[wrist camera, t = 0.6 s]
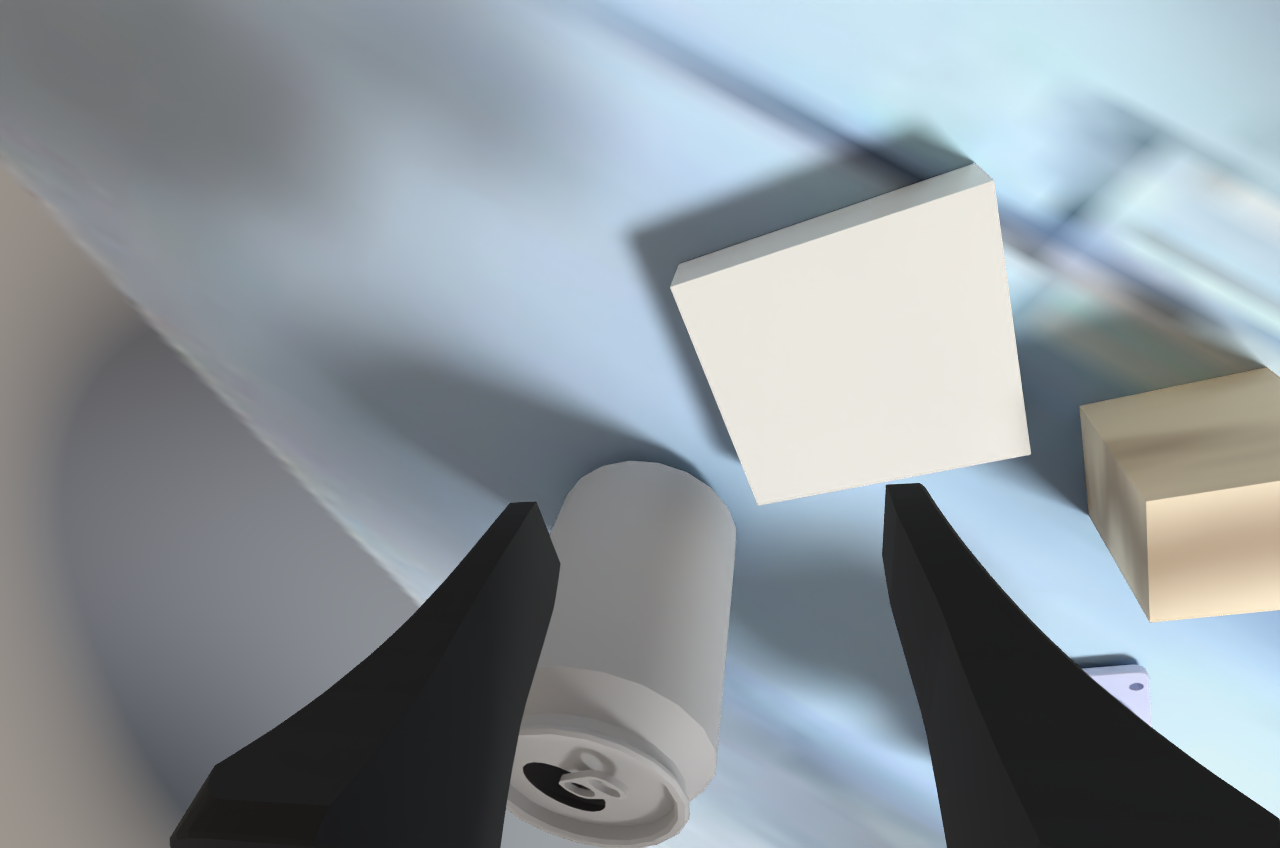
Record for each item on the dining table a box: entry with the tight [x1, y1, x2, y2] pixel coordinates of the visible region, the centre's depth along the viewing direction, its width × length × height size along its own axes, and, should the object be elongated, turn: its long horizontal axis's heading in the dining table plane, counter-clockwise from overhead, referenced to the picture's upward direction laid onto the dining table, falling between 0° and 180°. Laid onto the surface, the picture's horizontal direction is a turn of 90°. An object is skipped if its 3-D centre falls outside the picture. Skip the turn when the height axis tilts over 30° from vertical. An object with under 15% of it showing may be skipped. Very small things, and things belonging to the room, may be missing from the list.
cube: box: [1079, 367, 1280, 622], centre depth 20 cm, size 5×5×5 cm
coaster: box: [670, 163, 1031, 506], centre depth 21 cm, size 9×9×2 cm
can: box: [506, 461, 737, 848], centre depth 23 cm, size 8×8×12 cm
